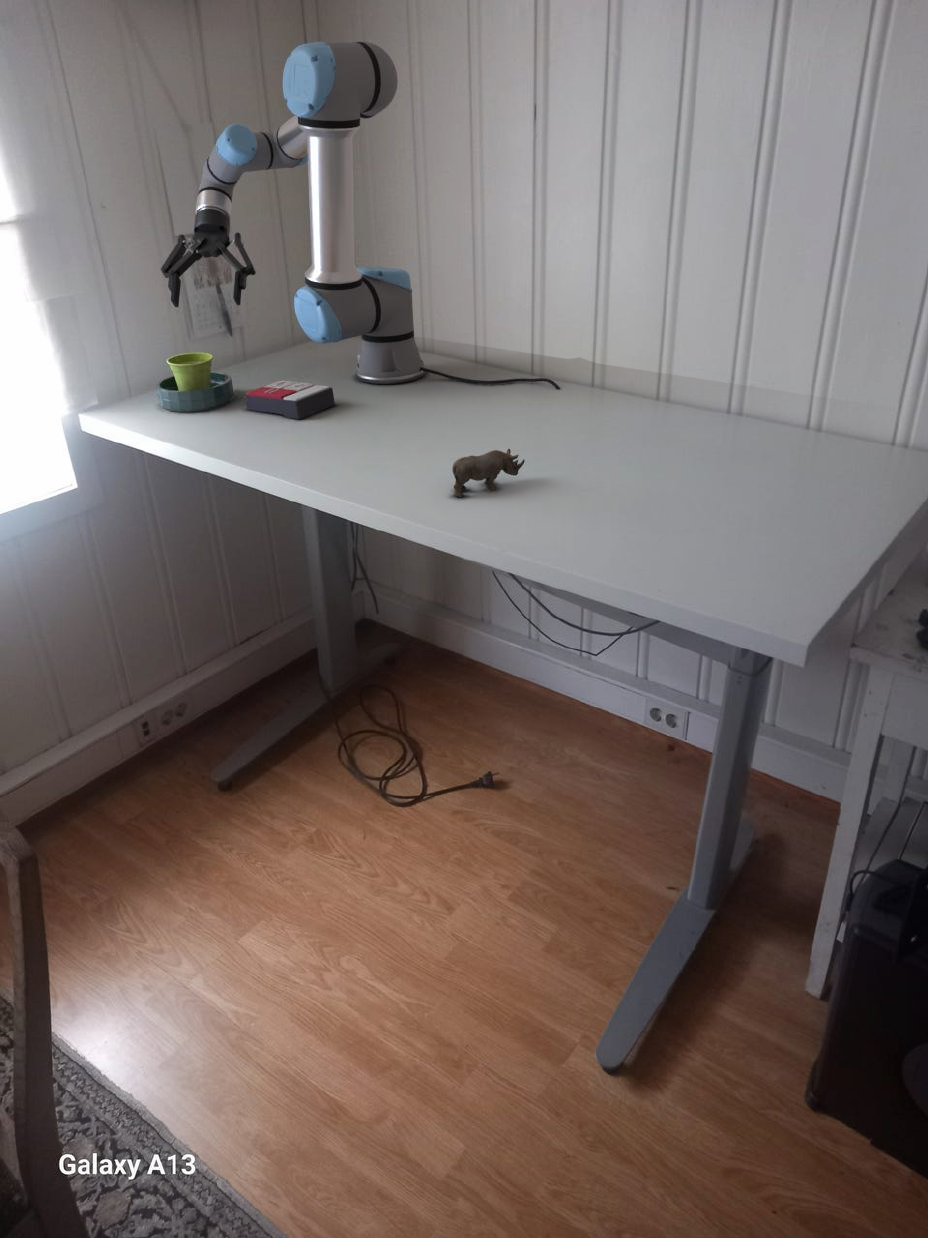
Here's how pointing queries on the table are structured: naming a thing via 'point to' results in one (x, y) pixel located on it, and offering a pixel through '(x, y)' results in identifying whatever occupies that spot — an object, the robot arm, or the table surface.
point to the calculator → (290, 399)
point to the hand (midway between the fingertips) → (205, 302)
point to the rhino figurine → (484, 469)
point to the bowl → (195, 394)
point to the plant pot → (191, 370)
